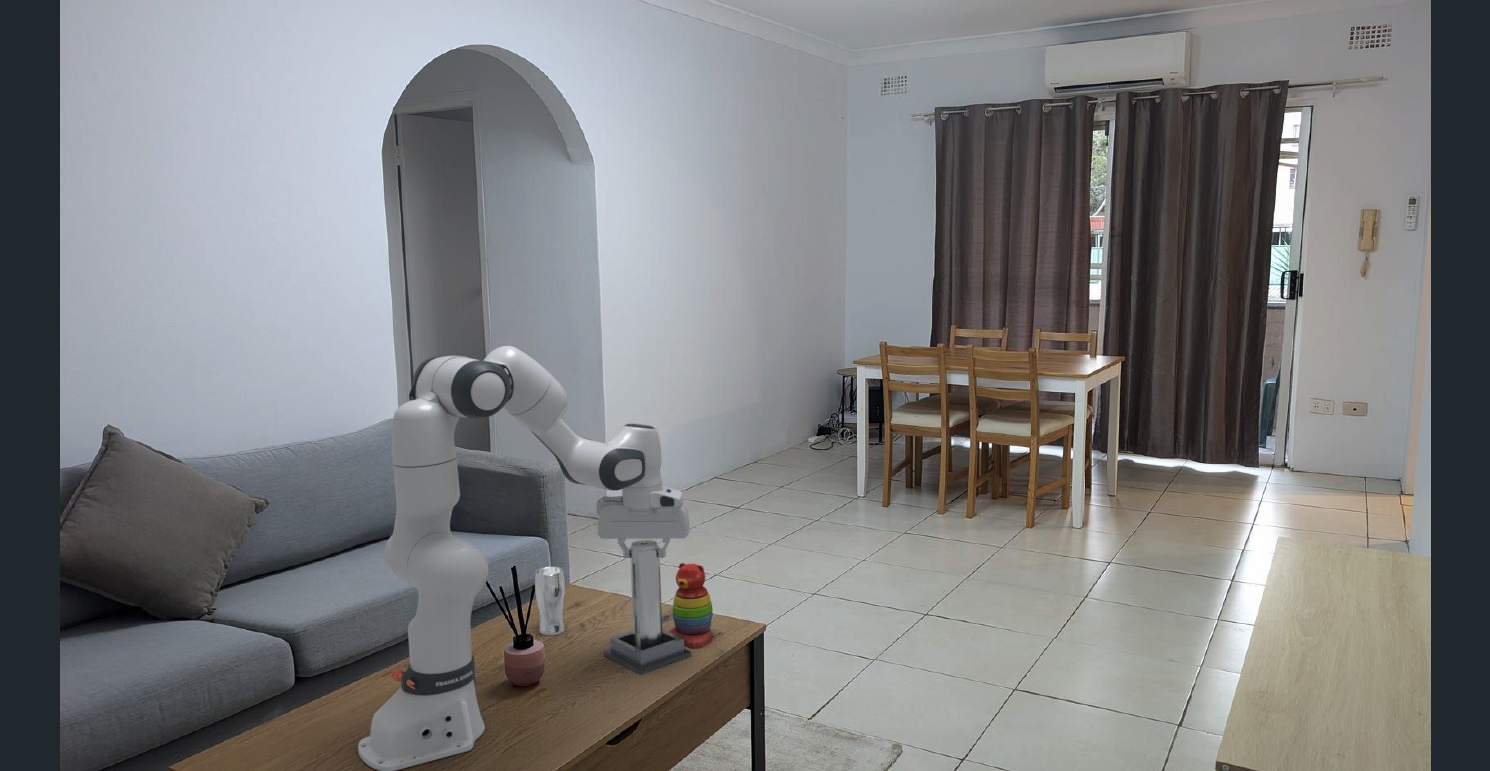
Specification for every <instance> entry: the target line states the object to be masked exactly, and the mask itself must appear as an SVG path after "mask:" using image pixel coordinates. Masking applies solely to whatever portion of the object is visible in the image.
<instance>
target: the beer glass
mask: <svg viewBox="0 0 1490 771" xmlns="http://www.w3.org/2000/svg"><path fill="white" fill-rule="evenodd" d="M564 576H565V574H564V569H563V567H559V566H544V567H541V568H538V569H536V570H535V578H534V579H535V580H534V585H535V586H534V589H535V590H534V592H535V598H536V604H537V607H538V608H537V609H538V613H539V620H540V621H539V628H538V633H539V634H540V635H542V636H550V637H551V636H556V635H557V636H558V635H561V634H563V633H564V632H565V630H566V628H565V623H564V618H563V616H564V615H563V612H564V603H565V594H566V583H565V582H566V581H565V577H564Z"/></svg>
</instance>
